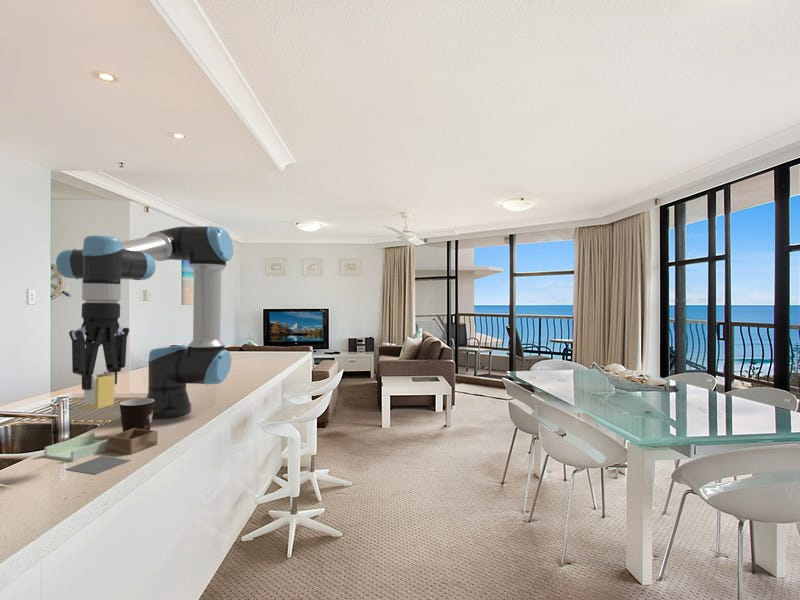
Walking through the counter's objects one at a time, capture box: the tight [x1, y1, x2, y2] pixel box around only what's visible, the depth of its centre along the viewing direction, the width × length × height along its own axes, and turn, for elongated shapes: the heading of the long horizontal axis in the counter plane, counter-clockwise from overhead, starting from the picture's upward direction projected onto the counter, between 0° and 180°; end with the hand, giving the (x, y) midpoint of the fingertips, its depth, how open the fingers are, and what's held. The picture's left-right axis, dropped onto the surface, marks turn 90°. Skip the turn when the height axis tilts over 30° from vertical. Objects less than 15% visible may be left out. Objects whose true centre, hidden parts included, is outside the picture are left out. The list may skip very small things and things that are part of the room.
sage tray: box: [44, 432, 107, 463], centre depth 112 cm, size 12×9×3 cm
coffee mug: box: [119, 398, 155, 432], centre depth 127 cm, size 12×9×10 cm
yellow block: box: [84, 374, 115, 409], centre depth 103 cm, size 4×4×7 cm
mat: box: [65, 455, 131, 476], centre depth 103 cm, size 9×9×1 cm
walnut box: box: [106, 428, 158, 455], centre depth 116 cm, size 8×8×4 cm
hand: (99, 401), depth 103 cm, fingers closed on yellow block, 4 cm apart
